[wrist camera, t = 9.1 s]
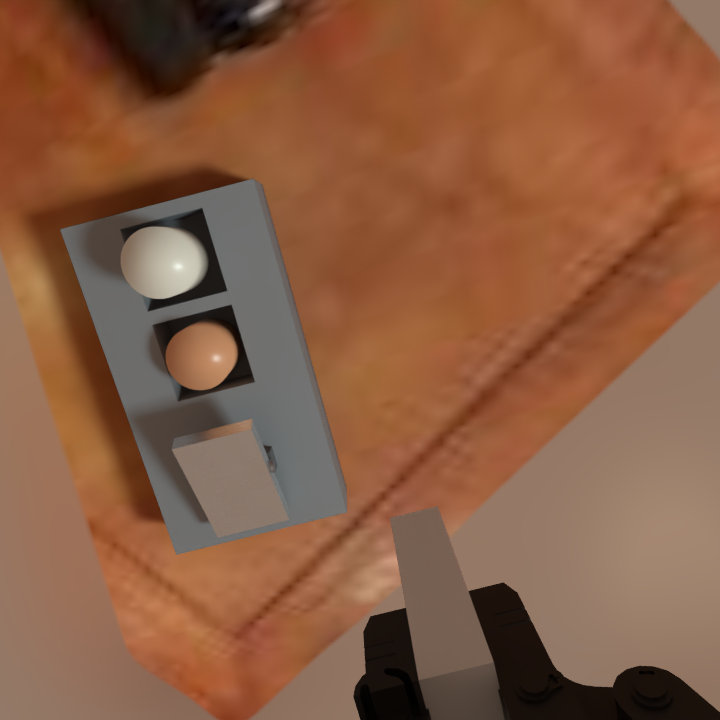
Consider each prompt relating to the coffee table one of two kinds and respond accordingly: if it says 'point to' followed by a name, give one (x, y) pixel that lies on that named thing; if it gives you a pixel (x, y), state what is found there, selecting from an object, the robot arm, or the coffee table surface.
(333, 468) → the grey slotted block
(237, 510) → the block
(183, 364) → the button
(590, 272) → the coffee table surface
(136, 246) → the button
